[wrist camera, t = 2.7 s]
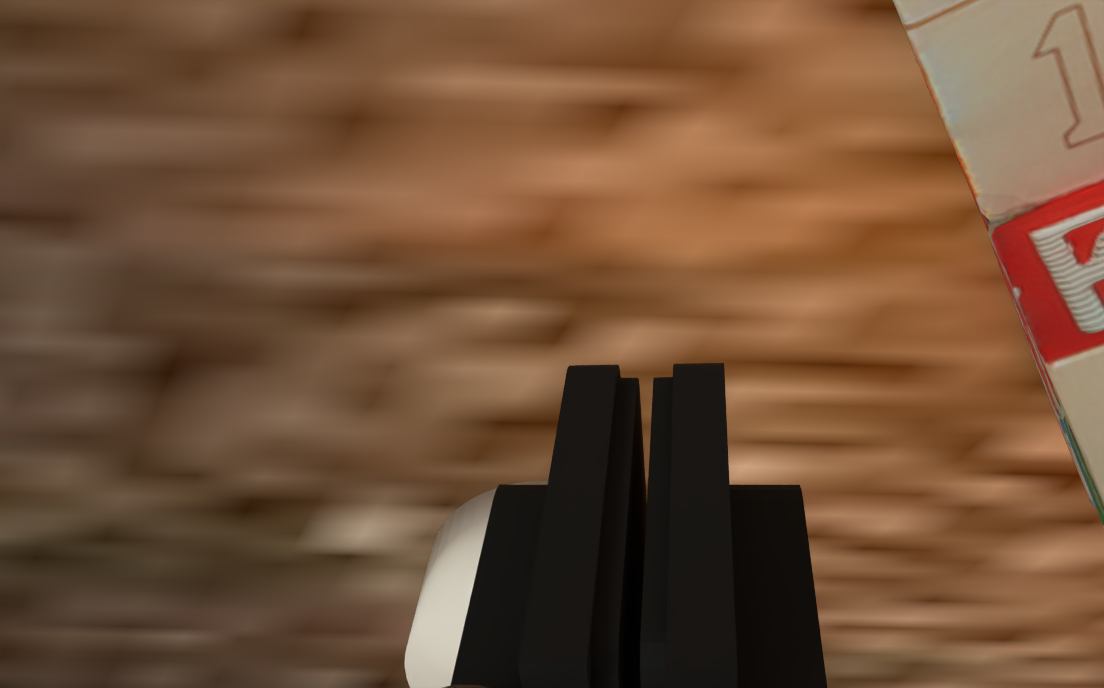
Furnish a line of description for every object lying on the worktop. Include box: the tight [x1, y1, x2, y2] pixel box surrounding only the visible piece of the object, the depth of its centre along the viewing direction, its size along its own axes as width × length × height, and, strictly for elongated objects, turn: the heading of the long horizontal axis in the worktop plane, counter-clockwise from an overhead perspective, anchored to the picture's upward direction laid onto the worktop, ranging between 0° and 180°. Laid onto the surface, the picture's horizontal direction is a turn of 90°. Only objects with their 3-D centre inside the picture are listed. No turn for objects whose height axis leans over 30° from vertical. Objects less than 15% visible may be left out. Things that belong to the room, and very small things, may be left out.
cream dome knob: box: [405, 480, 548, 688], centre depth 31 cm, size 8×8×4 cm
